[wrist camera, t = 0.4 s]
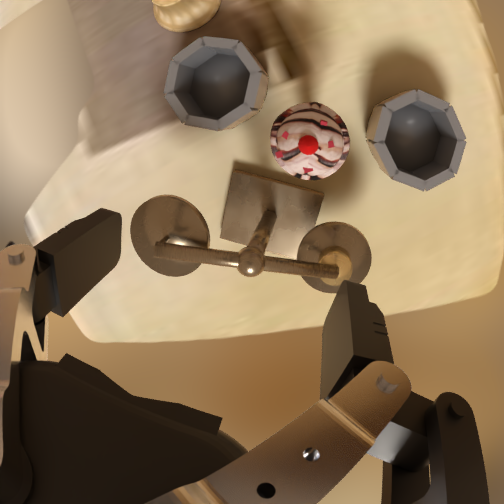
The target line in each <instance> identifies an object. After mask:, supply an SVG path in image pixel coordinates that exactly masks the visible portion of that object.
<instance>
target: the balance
mask: <svg viewBox="0 0 504 504" xmlns="http://www.w3.org/2000/svg"><path fill="white" fill-rule="evenodd" d="M323 198H324V193H321V192H317V191H314V190H310V189H307V188H303V187H300V186H296V185H293V184H289V183H285V182H282V181H278V180H274V179H270V178H267V177H263V176H259V175H255V174H251V173H247V172H243V171H239V170H235V171H233V174H232V179H231V184H230V189H229V194H228V199H227V204H226V209H225V214H224V219H223V224H222V229H221V235H220V238H222V239H226V240H229V241H233V242H236V243H240V244H243V245H247V247H245V248H243V249H241V250H240V251H239V252H232V251H225V250H217V249H210V248H209V246H210V234H209V229H208V226H207V223H206V221H205V219H204V217H203V216H202V214H201V213H200V212H199V210H198V209H197V208H196V207H195V206H194V205H192V204H191V203H190V202H188V201H187V200H185V199H183V198H181V197H178V196H174V195H159V196H155V197H153V198H151V199H149V200H148V201H146V202H144V203H143V204H142V205H141V206H140V207H139V208H138V209H137V210H136V212H135V213H134V216H133V218H132V221H131V228H130V233H131V239H132V243H133V246H134V248H135V250H136V252H137V254H138V256H139V257H140V258H141V260H142V261H143V262H144V263H145V264H146V265H147V266H149V267H150V268H151V269H153V270H154V271H156V272H158V273H160V274H163V275H167V276H173V277H178V276H184V275H187V274H189V273H191V272H193V271H195V270H196V269H197V268H198V267H199V266H200V264H201V263H204V264H212V265H219V266H227V267H235V268H237V270H238V271H239V272H240V273H241V274H242V275H244V276H247V277H254V276H257V275H259V274H260V273H261V272H262V271H268V272H276V273H284V274H293V275H301V276H302V278H303V279H304V280H305V281H306V283H307V284H309V285H310V286H311V287H313V288H314V289H317V290H319V291H322V292H326V293H337V292H338V290H339V288H340V285H341V283H342V282H343V280H348V281H351V282H355V283H358V284H359V283H361V282H362V281H363V279H364V278H365V277H366V275H367V274H368V272H369V269H370V266H371V258H372V257H371V250H370V247H369V244H368V242H367V240H366V238H365V237H364V235H363V234H362V233H361V232H360V231H359V230H358V229H356V228H355V227H353V226H351V225H349V224H347V223H343V222H326V223H323V224H320V225H318V226H316V227H315V224H316V220H317V217H318V214H319V211H320V207H321V204H322V201H323ZM265 251H268V252H272V253H275V254H279V255H282V256H286V257H290V258H293V259H297V260H292V259H285V258H277V257H270V256H265V255H264V253H265Z"/></svg>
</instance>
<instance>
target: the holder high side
mask: <svg viewBox="0 0 504 504" xmlns="http://www.w3.org/2000/svg"><path fill="white" fill-rule="evenodd" d="M172 59H173V60H174V61H170V64H169V69H168V74H167V78H166V83H165V89H164V93H165V94H166V95H165V96H164V97H165V98H166V100H167V101H168V103H169V104H170V106H171V107H172V109H173V110H174V112H175V113H176V115H177V116H178V118H179V119H180V121H181V122H182V123H185V125H188V126H194V127H199V128H205V129H210V130H215V131H221V130H226V129H231V128H234V127H236V126H237V125H239V124H240V123H242V122H245V121H246V120H248V119H250V118H251V117H252V116H254V115H255V114H256V113H258V112H260V110H259V109H262V105H263V103H264V101H265V98H266V95H267V89H268V80H269V78H268V77H267V76H268V74H267V73H266V71H265V70H264V68H263V67H262V65H261V64H260V62H259V61H258V60H257V59H256V57H255V56H254V54H253V53H252V52H251V50H250V49H249V48H247V47H246V46H245V45H244V44H243V43H242V42H240V41H239V40H234V39H226V38H217V37H207V36H203V38H201V37H200V38H198V39H197V40H195V41H194V42H193V43H191V44H190V45H188V46H187V47H186V48H184V49H183V50H182V51H180V52H179V53H178V54H176V55H175V56H174V57H172Z"/></svg>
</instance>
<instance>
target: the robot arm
mask: <svg viewBox="0 0 504 504" xmlns="http://www.w3.org/2000/svg"><path fill="white" fill-rule="evenodd" d="M121 229H122V217H121V214H120V213H118V212H114V211H111V210H107V209H104V208H100V209H98V210H97V211H95V212H93V213H92V214H90V215H88V216H87V217H85V218H82V219H79V220H75V221H73V222H72V223H70V224H68V225H67V226H65V228H62V229H60V230H59V231H58V232H57V233H54V234H52V235H51V236H49V237H48V238H46V239H45V240H43V241H42V242H40V243H39V244H37V245H36V246H34V247H32V246H30V245H26V244H16V245H12V246H9V247H6V248H5V249H3V250H2V251H1V252H0V504H317V503H318V502H319V501H320V500H321V499H322V498H323V497H325V495H327V494H328V493H329V492H330V491H331V490H332V489H333V488H334V487H335V486H336V485H337V484H338V483H339V482H340V481H341V480H342V479H343V478H344V477H345V476H346V474H348V472H349V471H350V470H351V469H352V468H353V467H354V466H355V465H356V464H357V463H358V462H359V461H360V459H361V458H362V457H363V456H364V455H365V454H366V453H367V454H369V455H371V456H374V457H376V458H378V459H381V460H383V481H382V501H381V504H490V503H489V494H488V486H487V479H486V472H485V466H484V461H483V455H482V450H481V444H480V440H479V435H478V430H477V426H476V422H475V418H474V414H473V411H472V408H471V407H470V405H469V404H468V402H467V401H466V400H465V399H464V398H462V397H461V396H459V395H458V394H455V393H452V392H445V393H442V394H440V395H439V397H438V398H437V399H436V400H435V401H434V402H433V401H431V400H429V399H427V398H424V397H423V396H420V395H418V394H416V393H414V392H412V391H411V383H410V380H409V378H408V376H407V375H406V374H405V373H404V371H403V370H401V369H400V368H399V367H397V366H396V365H394V362H393V357H392V352H391V347H390V342H389V337H388V336H387V335H388V333H387V329H386V327H385V326H386V324H385V320H384V315H383V313H382V312H381V311H380V309H379V308H378V306H377V305H376V304H375V303H371V302H369V299H368V294H367V289H366V286H365V285H362V284H358V283H355V282H351V281H348V280H343V282H342V283H341V285H340V288H339V290H338V292H337V294H336V297H335V299H334V301H333V303H332V306H331V308H330V310H329V312H328V315H327V317H326V320H325V323H324V327H323V334H322V365H321V385H320V401H319V402H317V403H316V404H314V405H313V406H312V407H311V408H309V409H308V410H307V411H305V412H304V413H303V414H301V415H300V416H299V417H297V418H296V419H295V420H294V421H292V422H291V423H289V424H288V425H286V426H285V427H284V428H282V429H281V430H280V431H278V432H277V433H275V434H274V435H272V436H271V437H270V438H268V439H267V440H265V441H264V442H262V443H261V444H259V445H258V446H256V447H255V448H253V449H252V450H250V451H249V452H248V451H247V450H246V449H245V448H244V447H243V446H242V445H241V444H240V443H238V442H237V441H236V440H235V439H233V438H232V437H230V436H229V435H228V434H226V433H224V432H223V431H221V430H219V427H220V424H221V421H222V418H221V417H218V416H215V415H212V414H208V413H205V412H202V411H199V410H196V409H193V408H190V407H188V406H185V405H182V404H179V403H172V402H166V401H160V400H154V399H148V398H142V397H137V396H133V395H131V394H129V393H128V392H127V391H125V390H124V389H123V388H121V387H120V386H119V385H117V384H116V383H115V382H114V381H112V380H111V379H110V378H109V377H107V376H106V375H105V374H104V373H102V372H101V371H100V370H98V369H96V368H94V367H92V366H90V365H88V364H86V363H84V362H82V361H80V360H78V359H77V358H74V357H73V356H71V355H69V354H65V356H64V357H63V358H62V359H61V360H60V362H59V363H58V362H52V361H48V317H47V314H48V313H49V312H50V311H52V312H54V313H56V314H57V315H60V316H62V317H64V316H65V315H66V314H67V313H68V312H69V311H70V310H71V309H72V308H73V307H74V306H75V305H76V304H77V303H78V302H79V301H80V300H81V299H82V298H83V297H84V296H85V295H86V294H87V293H88V292H89V291H90V290H91V289H92V288H93V287H94V286H95V285H96V284H97V283H98V282H99V281H101V280H102V279H103V278H104V277H105V276H106V275H107V274H108V273H109V272H110V271H111V270H112V269H113V268H114V267H115V266H116V265H117V263H118V261H119V258H120V254H121ZM429 464H430V475H431V482H430V478H429Z"/></svg>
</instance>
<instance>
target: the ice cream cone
mask: <svg viewBox="0 0 504 504" xmlns="http://www.w3.org/2000/svg"><path fill="white" fill-rule="evenodd" d="M270 141H271V149H272V153H273V155H274V157H275V159H276V161H277V162H278V163H279V165H280V166H281V167H282V168H283V169H284V170H285V171H286V172H288V173H289V174H291V175H292V176H295V177H297V178H300V179H305V180H318V179H323V178H325V177H328V176H330V175H331V174H333V173H334V172H336V171H337V170H338V169H339V168H340V167H341V166H342V164H343V163H344V161H345V160H346V158H347V155H348V153H349V147H350V138H349V134H348V130H347V128H346V125H345V123H344V122H343V120H342V119H341V117H340V116H339V115H338V114H336V113H335V112H334V111H333V110H331V109H330V108H329V107H327V106H325V105H323V104H320V103H318V102H310V103H302V104H297V105H295V106H293V107H290V108H289V109H287V110H286V111H284V112H283V113H282V114H280V115H279V116H278V117H277V119H276V120H275V122H274V123H273V126H272V129H271V137H270Z"/></svg>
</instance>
